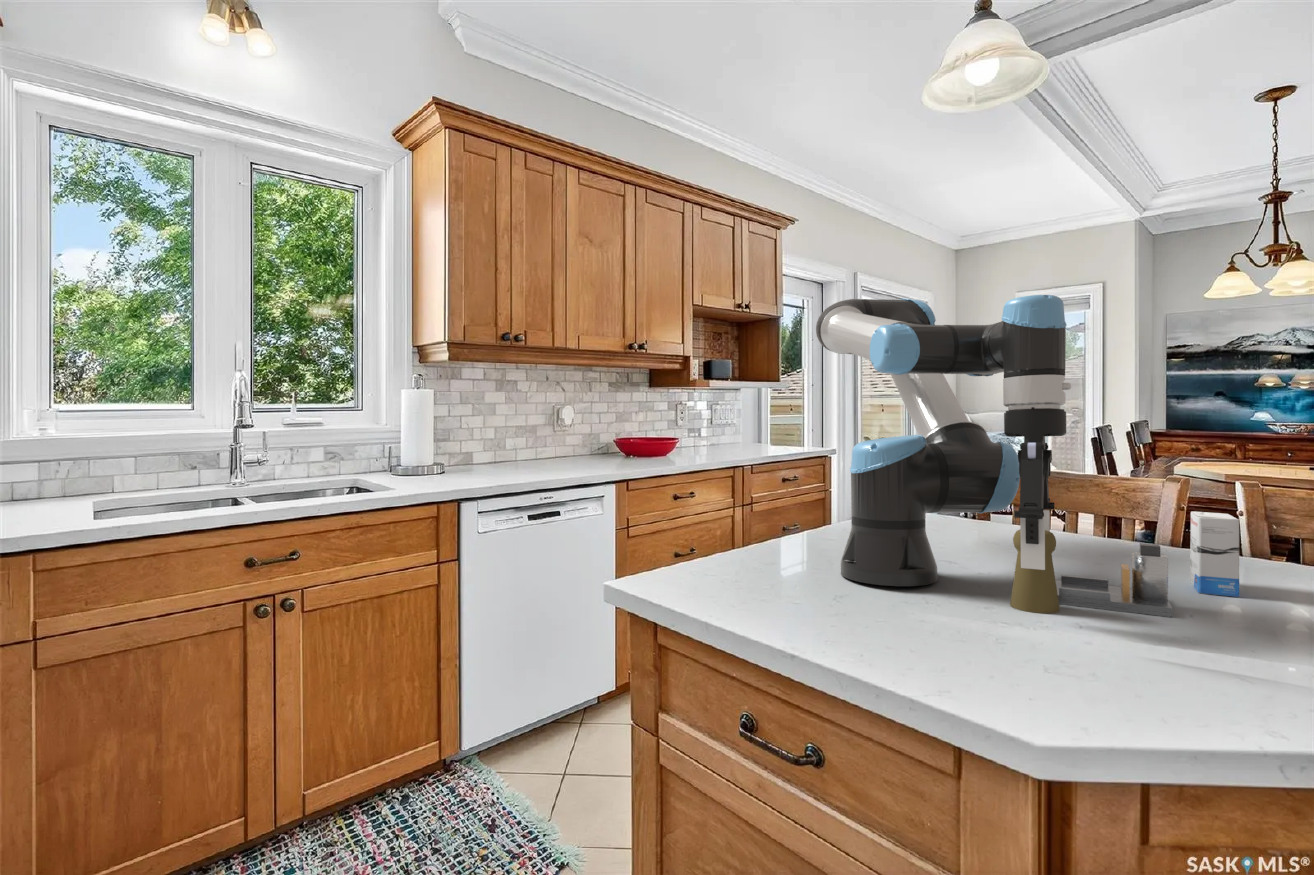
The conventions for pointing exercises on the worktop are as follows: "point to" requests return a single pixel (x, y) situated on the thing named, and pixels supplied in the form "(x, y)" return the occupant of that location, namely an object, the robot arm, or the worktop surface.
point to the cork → (1035, 581)
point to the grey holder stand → (1124, 586)
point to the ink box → (1214, 553)
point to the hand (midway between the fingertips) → (1036, 561)
